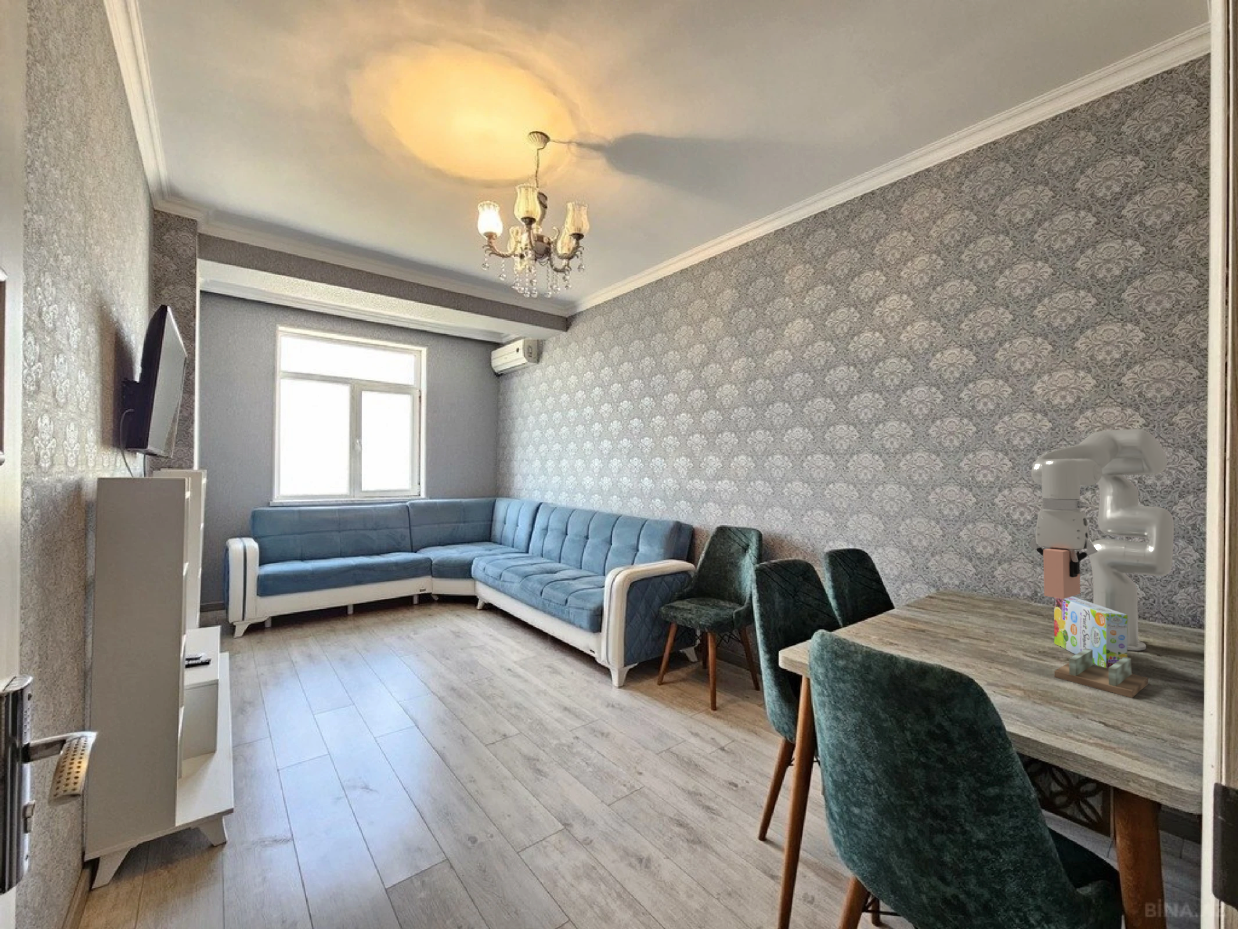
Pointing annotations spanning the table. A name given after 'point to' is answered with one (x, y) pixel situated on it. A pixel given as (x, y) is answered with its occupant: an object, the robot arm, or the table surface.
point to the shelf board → (1102, 674)
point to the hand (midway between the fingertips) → (1062, 574)
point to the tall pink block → (1059, 574)
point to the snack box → (1090, 630)
